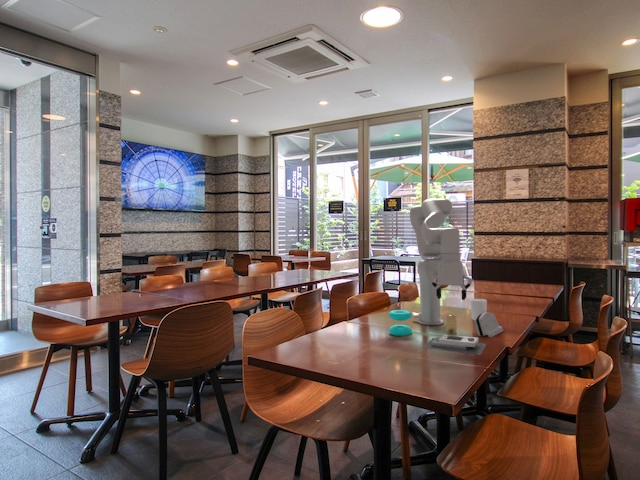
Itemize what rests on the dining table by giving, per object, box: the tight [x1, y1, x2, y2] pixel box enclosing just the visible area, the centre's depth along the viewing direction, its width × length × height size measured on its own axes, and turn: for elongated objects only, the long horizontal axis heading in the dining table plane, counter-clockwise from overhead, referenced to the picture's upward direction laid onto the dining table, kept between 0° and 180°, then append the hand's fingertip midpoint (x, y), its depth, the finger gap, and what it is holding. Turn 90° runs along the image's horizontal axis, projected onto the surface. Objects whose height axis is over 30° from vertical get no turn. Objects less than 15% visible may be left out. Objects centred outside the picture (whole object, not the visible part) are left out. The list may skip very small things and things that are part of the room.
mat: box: [422, 337, 487, 356], centre depth 158 cm, size 21×16×1 cm
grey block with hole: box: [431, 333, 479, 350], centre depth 158 cm, size 16×9×4 cm, turn 60°
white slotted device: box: [473, 311, 504, 338], centre depth 179 cm, size 17×5×10 cm, turn 137°
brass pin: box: [445, 314, 458, 336], centre depth 169 cm, size 4×4×10 cm
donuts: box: [388, 309, 413, 337], centre depth 180 cm, size 10×10×10 cm
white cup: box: [469, 298, 488, 321], centre depth 206 cm, size 8×8×10 cm
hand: (451, 299), depth 168 cm, fingers open, 9 cm apart
